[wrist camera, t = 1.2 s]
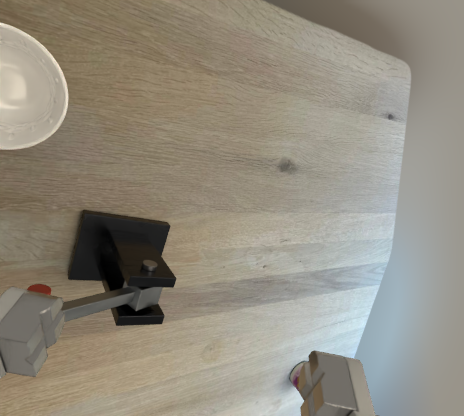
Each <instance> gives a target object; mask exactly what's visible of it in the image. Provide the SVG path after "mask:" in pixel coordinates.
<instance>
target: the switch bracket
mask: <svg viewBox="0 0 464 416" xmlns="http://www.w3.org/2000/svg"><path fill="white" fill-rule="evenodd" d="M169 229H170V225H169V224H168V223H167V222H161V221H155V220H148V219H141V218H135V217H128V216H121V215H114V214H108V213H101V212H94V211H88V210H83V214H82V218H81V222H80V226H79V230H78V235H77V239H76V243H75V247H74V251H73V255H72V259H71V263H70V267H69V271H68V279H69V280H94V281H102V283H103V286H104V289H105V292H109V291H113V290H117V289H121V288H123V285H124V282H125V281H126V284H127V286H138V287H172V288H173V287H174V285H175V281H176V277H175V276H174V274H173V273H172V271H171V270H170V269H169V267H168V266H167V264H166V263H165V261H164V260H163V258H162V257H161V255H162V252H163V249H164V245H165V242H166V239H167V235H168V232H169ZM111 311H112V314H113V317H114V320H115V323H116V326H124V325H150V324H162V322H163V319H164V314H163V312H162V310H161V308H160V306H159V304H156V305H153V306H150V307H147V308H144V309H141V310H138V311H135V310H134V309H132V308H131V307H130V306H129V305H128V304H124V305H120V306H117V307H114V308H111Z"/></svg>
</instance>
